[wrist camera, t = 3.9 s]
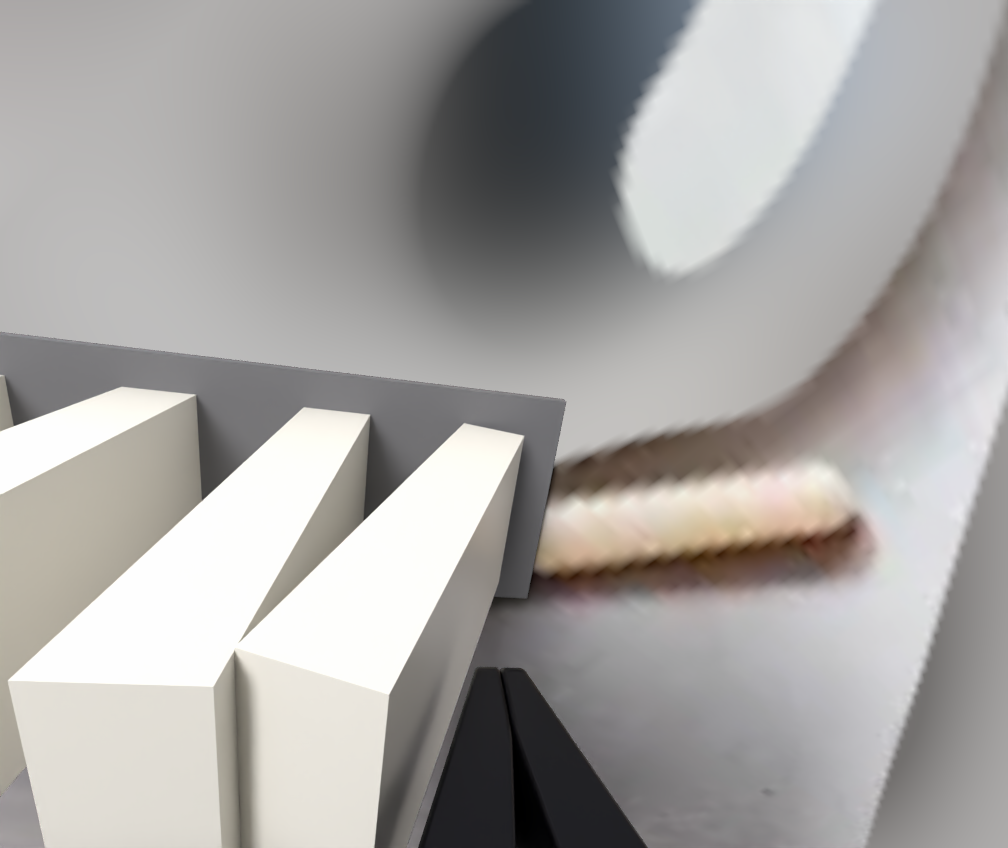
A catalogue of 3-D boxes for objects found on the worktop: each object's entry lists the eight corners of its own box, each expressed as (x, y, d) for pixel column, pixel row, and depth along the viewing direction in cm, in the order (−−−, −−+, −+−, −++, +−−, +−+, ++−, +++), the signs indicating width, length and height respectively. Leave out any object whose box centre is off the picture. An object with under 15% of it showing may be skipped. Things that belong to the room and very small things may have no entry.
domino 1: (205, 554, 14) (-173, 1002, 5) (138, 550, 14) (-368, 1017, 5) (195, 394, 12) (-347, 671, 4) (121, 386, 12) (-636, 666, 4)
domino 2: (360, 564, 15) (228, 978, 6) (300, 560, 14) (76, 986, 6) (370, 414, 13) (214, 685, 5) (303, 407, 13) (7, 680, 4)
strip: (563, 399, 14) (566, 401, 14) (525, 592, 16) (527, 598, 16) (-368, 288, 11) (-390, 288, 10) (-260, 552, 13) (-276, 558, 12)
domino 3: (498, 582, 15) (360, 976, 6) (445, 568, 15) (243, 928, 7) (524, 435, 13) (390, 695, 5) (464, 423, 14) (234, 648, 5)
